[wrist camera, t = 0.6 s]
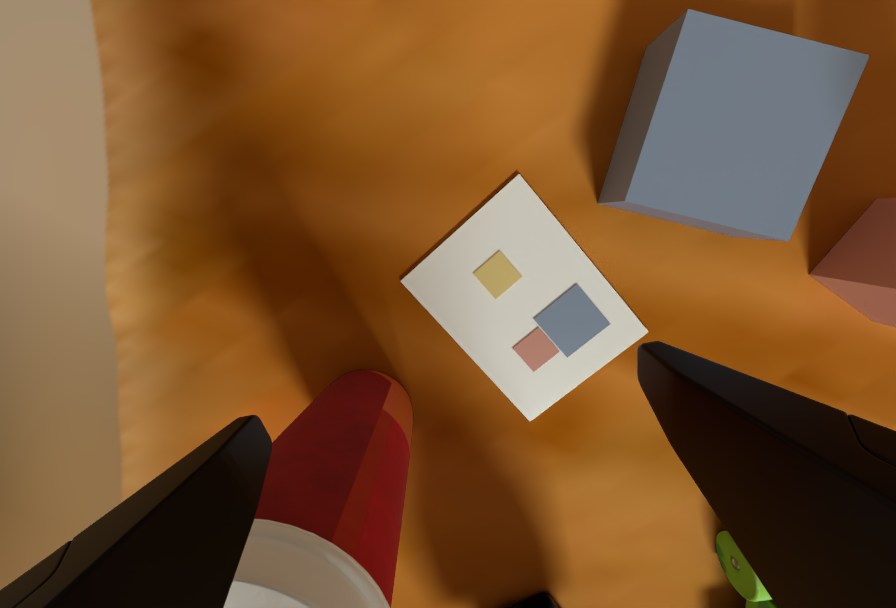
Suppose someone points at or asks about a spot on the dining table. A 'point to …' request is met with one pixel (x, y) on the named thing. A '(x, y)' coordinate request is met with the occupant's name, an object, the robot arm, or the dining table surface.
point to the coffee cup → (331, 502)
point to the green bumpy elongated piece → (741, 573)
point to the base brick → (729, 126)
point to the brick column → (865, 264)
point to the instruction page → (524, 300)
